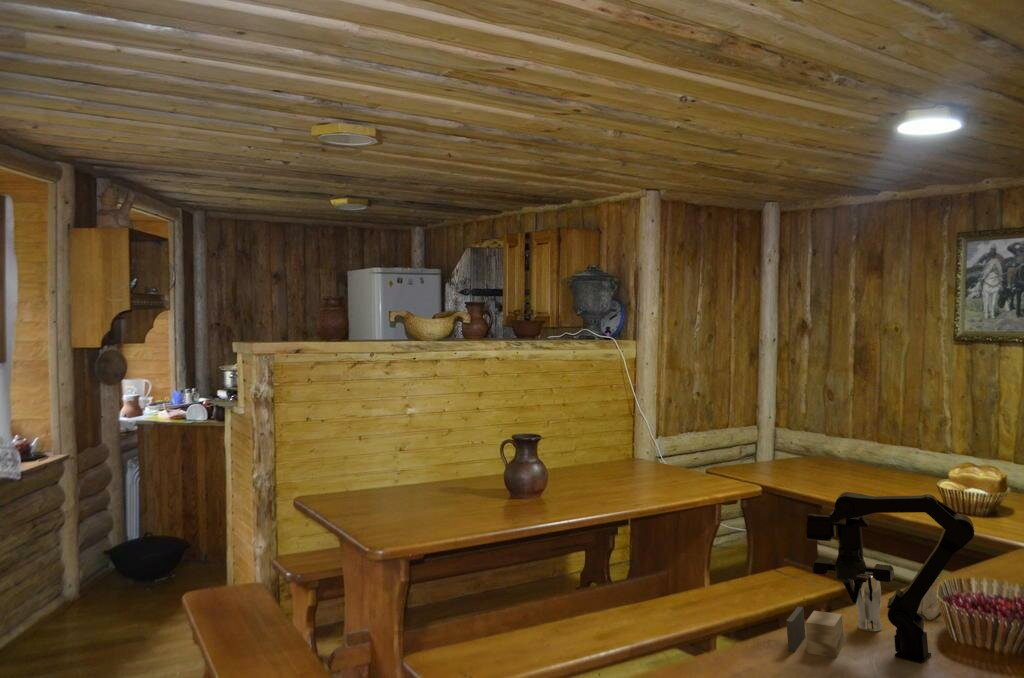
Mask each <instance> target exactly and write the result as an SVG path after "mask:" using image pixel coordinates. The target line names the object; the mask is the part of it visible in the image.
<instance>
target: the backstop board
mask: <svg viewBox="0 0 1024 678" xmlns="http://www.w3.org/2000/svg"><path fill="white" fill-rule="evenodd" d="M804 610H805V609H804V607H803V606H796V608H795V610H793V612H792V613H791V614H790V616H789V617H788V618H787V619H786V621H785V622H786V623H785V624H786V634H787V635H786V636H787V648H788V649H787V650H788V653H793V654H794V653H796V651H797V650H798V648H799V647H800V646H801V644H802V643H803V641H804V640H805V638H807V636H806V621H805V611H804Z"/></svg>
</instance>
